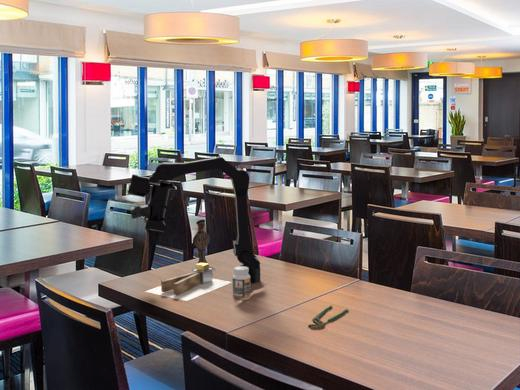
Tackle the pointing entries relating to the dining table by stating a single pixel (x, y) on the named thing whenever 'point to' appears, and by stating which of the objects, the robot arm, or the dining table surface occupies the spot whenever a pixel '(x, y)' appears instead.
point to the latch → (202, 266)
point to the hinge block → (204, 275)
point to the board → (191, 290)
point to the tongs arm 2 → (186, 283)
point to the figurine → (201, 241)
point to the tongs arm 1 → (172, 282)
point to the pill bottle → (241, 283)
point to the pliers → (321, 324)
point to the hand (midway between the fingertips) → (149, 245)
